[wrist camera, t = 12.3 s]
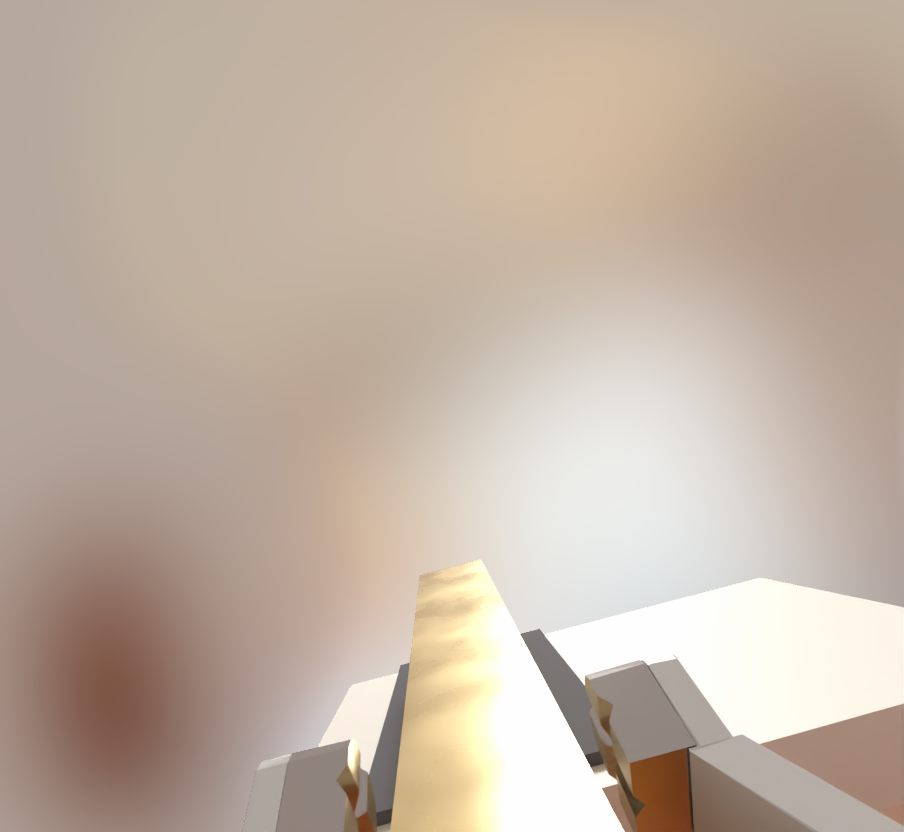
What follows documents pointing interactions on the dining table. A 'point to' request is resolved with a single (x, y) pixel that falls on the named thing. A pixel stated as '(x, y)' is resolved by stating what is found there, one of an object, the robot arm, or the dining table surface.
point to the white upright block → (713, 685)
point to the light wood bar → (485, 724)
